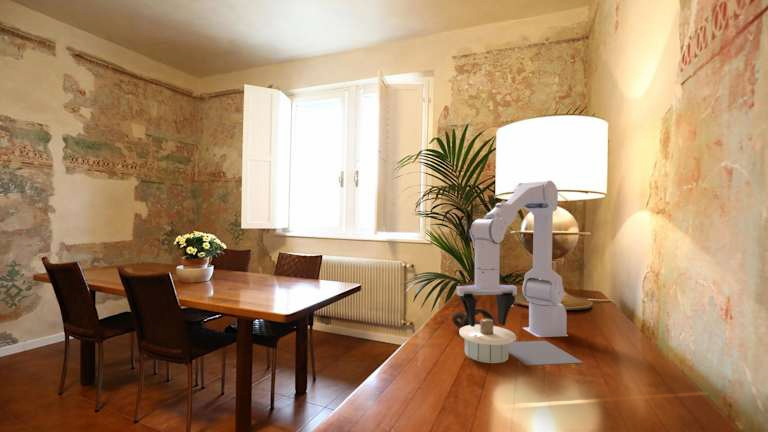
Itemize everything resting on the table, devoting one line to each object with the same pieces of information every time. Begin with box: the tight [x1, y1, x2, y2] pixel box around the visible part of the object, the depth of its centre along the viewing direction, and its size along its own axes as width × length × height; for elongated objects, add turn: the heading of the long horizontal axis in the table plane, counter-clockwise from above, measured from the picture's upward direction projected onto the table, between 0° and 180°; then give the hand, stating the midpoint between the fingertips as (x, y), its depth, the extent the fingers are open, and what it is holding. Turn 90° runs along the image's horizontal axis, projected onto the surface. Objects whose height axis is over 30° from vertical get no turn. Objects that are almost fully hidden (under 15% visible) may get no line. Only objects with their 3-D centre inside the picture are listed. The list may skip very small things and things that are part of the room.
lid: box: [458, 318, 517, 345], centre depth 82 cm, size 13×13×4 cm
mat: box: [509, 340, 584, 366], centre depth 83 cm, size 14×14×1 cm
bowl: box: [464, 339, 510, 364], centre depth 82 cm, size 10×10×5 cm
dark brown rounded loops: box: [451, 307, 496, 330], centre depth 98 cm, size 12×10×8 cm
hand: (486, 324), depth 82 cm, fingers open, 7 cm apart
